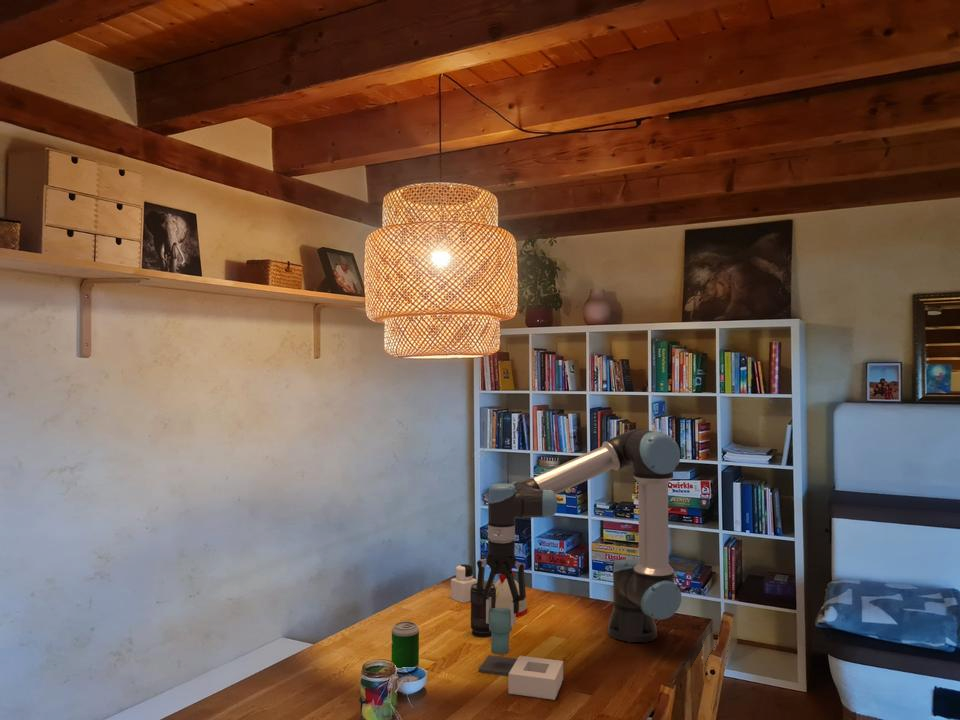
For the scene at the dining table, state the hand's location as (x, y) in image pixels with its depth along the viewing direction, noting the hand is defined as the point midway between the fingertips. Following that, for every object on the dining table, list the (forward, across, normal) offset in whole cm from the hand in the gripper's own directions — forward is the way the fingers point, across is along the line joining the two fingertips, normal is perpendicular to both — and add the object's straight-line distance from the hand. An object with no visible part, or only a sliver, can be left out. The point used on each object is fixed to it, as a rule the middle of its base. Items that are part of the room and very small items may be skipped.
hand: (500, 623), depth 196 cm
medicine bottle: (+12, -28, +53) cm, 61 cm away
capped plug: (+8, 0, 0) cm, 8 cm away
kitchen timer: (+12, -10, +45) cm, 48 cm away
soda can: (+13, -25, -9) cm, 29 cm away
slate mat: (+12, 0, 0) cm, 12 cm away
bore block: (+12, +12, -9) cm, 19 cm away
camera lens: (+12, -12, +23) cm, 29 cm away
